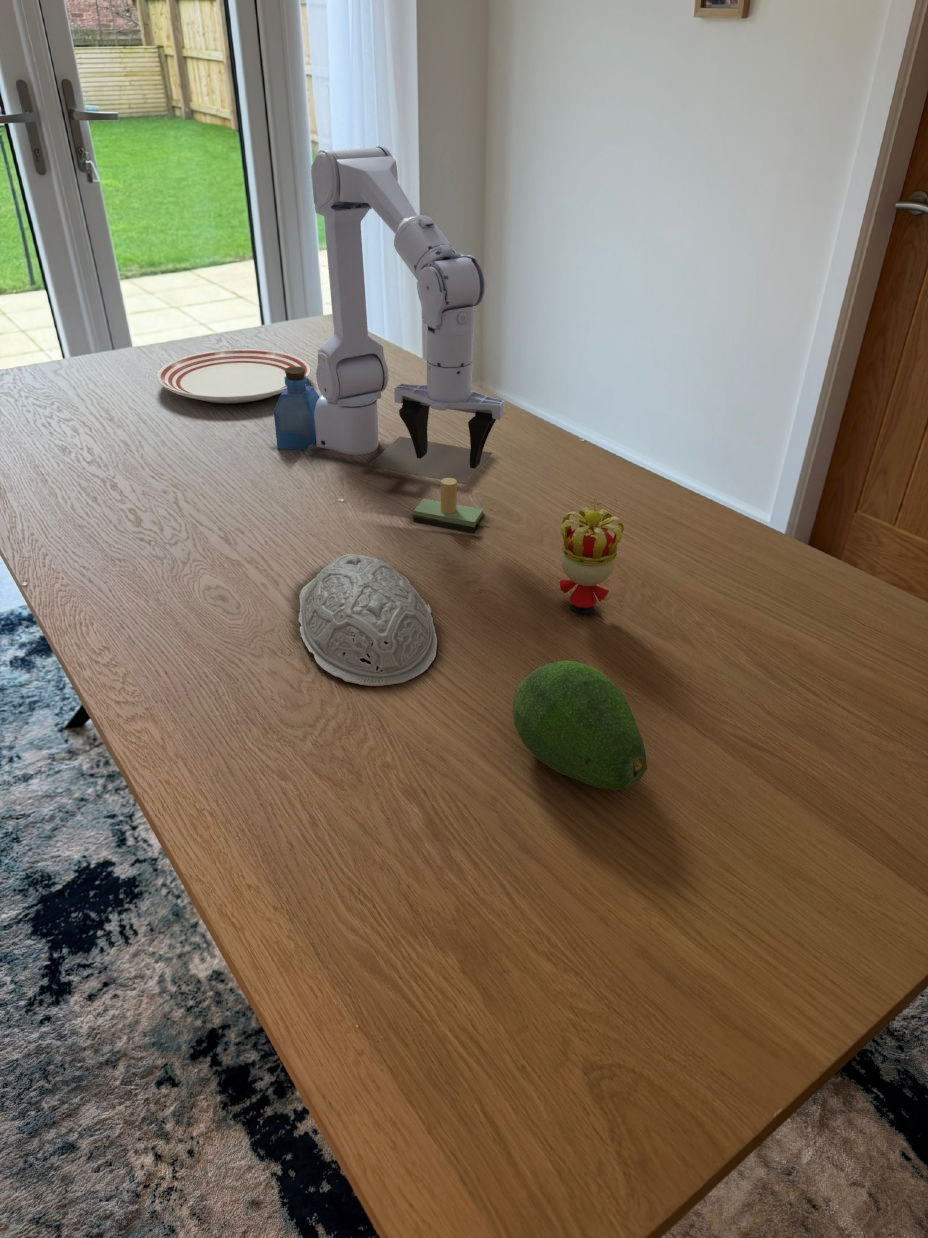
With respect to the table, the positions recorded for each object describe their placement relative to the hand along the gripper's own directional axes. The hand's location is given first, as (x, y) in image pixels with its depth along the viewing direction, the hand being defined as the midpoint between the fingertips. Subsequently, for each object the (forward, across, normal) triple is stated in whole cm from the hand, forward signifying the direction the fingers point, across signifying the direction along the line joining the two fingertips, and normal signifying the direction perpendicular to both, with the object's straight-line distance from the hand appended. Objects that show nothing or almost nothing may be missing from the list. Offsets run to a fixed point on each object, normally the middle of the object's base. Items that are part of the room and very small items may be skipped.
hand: (448, 460), depth 120 cm
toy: (+10, +23, -14) cm, 29 cm away
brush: (+9, 0, 0) cm, 9 cm away
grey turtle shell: (+10, 0, -26) cm, 28 cm away
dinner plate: (+10, -55, +33) cm, 65 cm away
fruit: (+10, +29, -40) cm, 50 cm away
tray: (+9, -9, +16) cm, 21 cm away
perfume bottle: (+10, -32, +16) cm, 37 cm away
